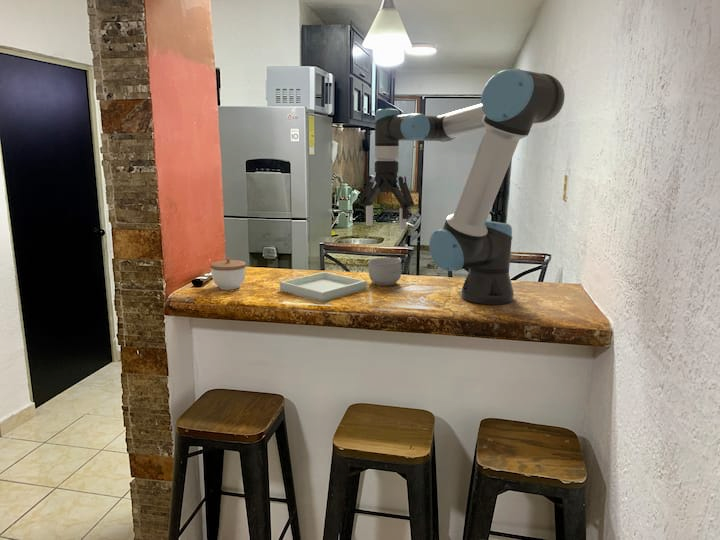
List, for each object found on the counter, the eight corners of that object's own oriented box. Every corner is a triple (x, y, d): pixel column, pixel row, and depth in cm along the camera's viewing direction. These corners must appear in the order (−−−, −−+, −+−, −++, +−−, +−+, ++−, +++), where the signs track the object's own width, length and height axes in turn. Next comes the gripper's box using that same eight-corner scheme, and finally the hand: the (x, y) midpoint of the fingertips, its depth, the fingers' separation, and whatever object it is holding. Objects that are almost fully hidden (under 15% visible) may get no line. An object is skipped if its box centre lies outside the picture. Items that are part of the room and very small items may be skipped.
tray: (366, 289, 168) (366, 280, 168) (322, 302, 154) (322, 292, 153) (324, 279, 180) (324, 271, 180) (279, 290, 166) (279, 281, 165)
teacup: (395, 289, 169) (396, 264, 168) (363, 286, 173) (363, 261, 171) (406, 279, 182) (407, 256, 181) (375, 276, 186) (376, 254, 184)
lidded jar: (241, 292, 164) (240, 262, 162) (207, 291, 164) (205, 261, 162) (250, 283, 174) (249, 255, 172) (217, 282, 175) (216, 254, 173)
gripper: (426, 160, 164) (424, 229, 168) (363, 159, 179) (363, 222, 184) (412, 160, 158) (410, 232, 163) (349, 159, 174) (349, 224, 178)
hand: (385, 227), depth 173 cm, fingers open, 13 cm apart
